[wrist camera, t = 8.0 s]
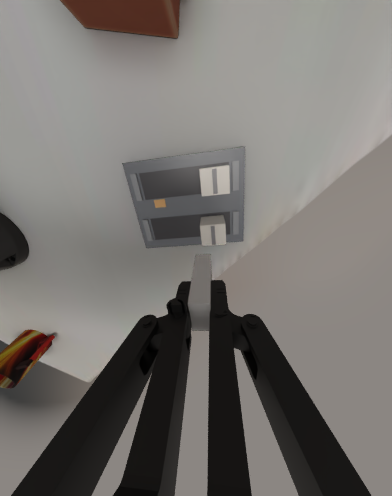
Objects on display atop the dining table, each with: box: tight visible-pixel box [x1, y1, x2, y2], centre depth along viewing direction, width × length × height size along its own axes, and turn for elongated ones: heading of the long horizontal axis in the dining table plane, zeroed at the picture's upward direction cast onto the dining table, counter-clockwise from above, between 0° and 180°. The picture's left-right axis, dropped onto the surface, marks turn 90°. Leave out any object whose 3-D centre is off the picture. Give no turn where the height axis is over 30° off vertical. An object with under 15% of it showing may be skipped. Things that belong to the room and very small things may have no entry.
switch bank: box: [122, 147, 245, 248], centre depth 30 cm, size 20×16×2 cm
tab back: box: [200, 215, 226, 246], centre depth 28 cm, size 4×4×5 cm
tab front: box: [199, 165, 230, 196], centre depth 24 cm, size 4×4×5 cm
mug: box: [0, 330, 55, 388], centre depth 50 cm, size 10×14×12 cm
